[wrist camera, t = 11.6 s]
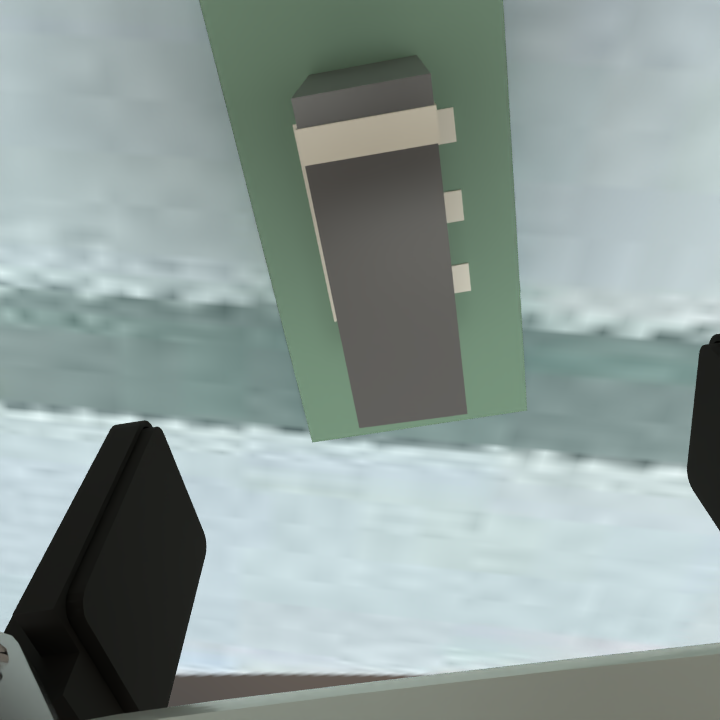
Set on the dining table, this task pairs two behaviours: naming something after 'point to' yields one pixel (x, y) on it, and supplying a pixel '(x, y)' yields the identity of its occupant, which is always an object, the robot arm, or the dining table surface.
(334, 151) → the block
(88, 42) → the dining table surface
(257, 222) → the header board
